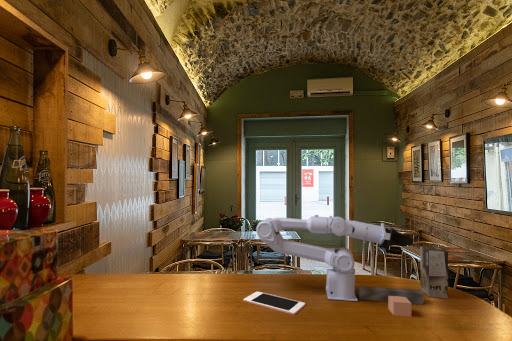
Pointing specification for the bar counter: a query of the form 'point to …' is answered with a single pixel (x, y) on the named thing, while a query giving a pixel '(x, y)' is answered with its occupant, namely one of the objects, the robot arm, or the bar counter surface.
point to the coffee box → (434, 271)
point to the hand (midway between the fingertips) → (409, 241)
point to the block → (399, 306)
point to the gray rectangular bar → (389, 294)
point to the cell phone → (275, 302)
